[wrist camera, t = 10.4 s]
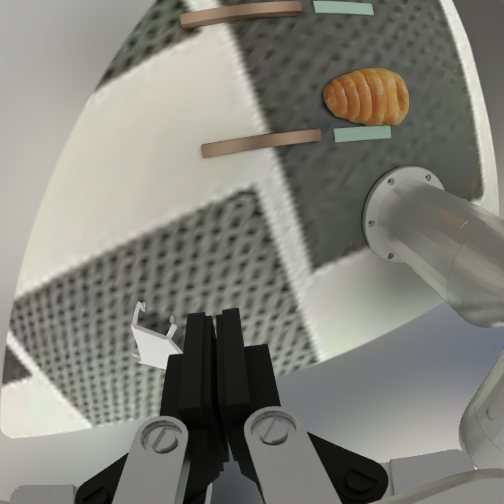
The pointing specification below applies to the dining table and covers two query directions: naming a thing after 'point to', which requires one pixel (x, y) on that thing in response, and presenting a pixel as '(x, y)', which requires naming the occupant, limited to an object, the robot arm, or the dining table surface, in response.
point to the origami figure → (153, 342)
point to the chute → (243, 14)
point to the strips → (362, 131)
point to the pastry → (368, 97)
